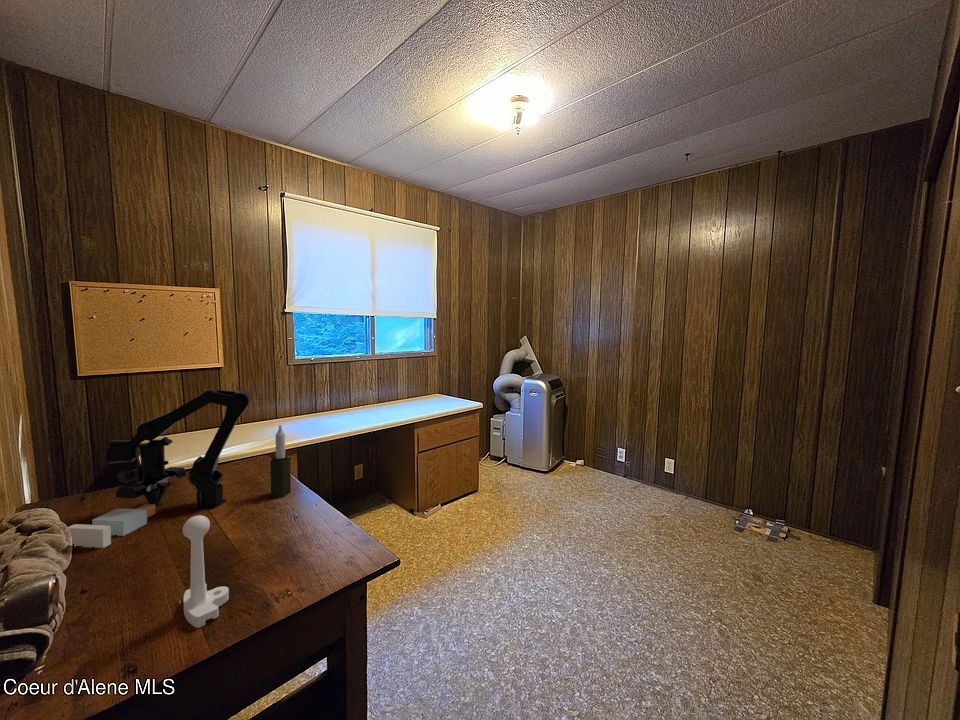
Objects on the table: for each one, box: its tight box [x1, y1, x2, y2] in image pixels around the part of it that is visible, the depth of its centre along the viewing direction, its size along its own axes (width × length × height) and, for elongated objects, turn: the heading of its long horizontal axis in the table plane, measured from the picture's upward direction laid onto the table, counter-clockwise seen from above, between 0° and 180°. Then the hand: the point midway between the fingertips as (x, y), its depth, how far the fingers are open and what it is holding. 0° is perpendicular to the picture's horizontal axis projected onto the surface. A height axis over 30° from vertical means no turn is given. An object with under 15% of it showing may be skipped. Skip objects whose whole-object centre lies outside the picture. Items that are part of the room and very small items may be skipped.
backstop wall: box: [68, 523, 112, 549], centre depth 100 cm, size 10×2×5 cm, turn 88°
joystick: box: [182, 515, 230, 629], centre depth 79 cm, size 11×8×20 cm
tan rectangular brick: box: [135, 503, 157, 519], centre depth 115 cm, size 3×6×3 cm, turn 177°
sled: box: [91, 508, 148, 537], centre depth 109 cm, size 9×7×4 cm
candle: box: [270, 424, 291, 498], centre depth 134 cm, size 5×5×25 cm
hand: (154, 508), depth 120 cm, fingers closed
